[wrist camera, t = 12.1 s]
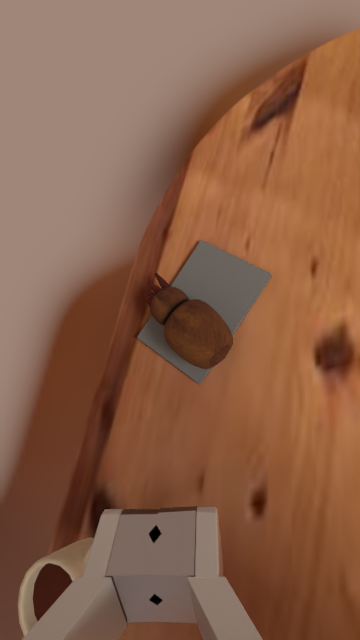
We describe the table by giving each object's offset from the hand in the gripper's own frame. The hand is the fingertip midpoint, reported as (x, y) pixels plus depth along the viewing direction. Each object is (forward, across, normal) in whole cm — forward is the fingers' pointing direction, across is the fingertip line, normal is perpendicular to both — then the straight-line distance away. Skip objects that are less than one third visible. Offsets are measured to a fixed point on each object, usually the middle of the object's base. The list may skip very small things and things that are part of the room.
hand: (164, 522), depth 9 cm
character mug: (+19, +11, +32) cm, 39 cm away
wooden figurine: (+27, -2, +11) cm, 29 cm away
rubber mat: (+35, 0, +8) cm, 36 cm away
